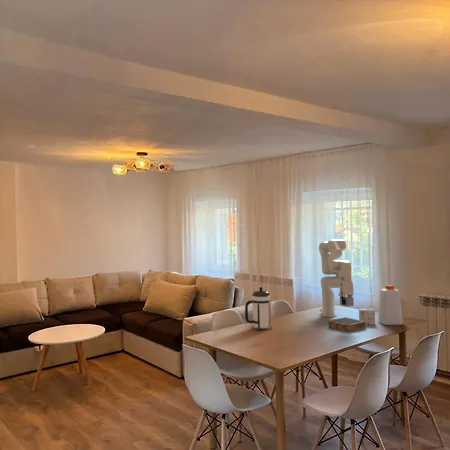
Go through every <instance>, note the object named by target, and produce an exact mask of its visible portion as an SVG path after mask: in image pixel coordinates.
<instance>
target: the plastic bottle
mask: <svg viewBox="0 0 450 450" xmlns="http://www.w3.org/2000/svg"><path fill="white" fill-rule="evenodd" d="M378 306H379V307H378V323H380V324H381V325H384V326H402V325H403V323H404V322H403V321H404V320H403V312H402V311H403V309H402V301H401V291H400V290H399V289H396V288H395V285H394V284H386V285H385V286H384V288H381V289H379V305H378Z"/></svg>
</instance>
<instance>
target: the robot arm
mask: <svg viewBox="0 0 450 450" xmlns="http://www.w3.org/2000/svg"><path fill="white" fill-rule="evenodd" d="M346 249H347V243H346V241H345V240H344V239H329V240H328V241H323V242H320V243H319V245H318V250H319V254H320V258H321V270H322V271H321V272H322V274H323V275H326V276H323V277H322V278H320V285H321V286H320V287H321V304H322V305H321V307H322V308H320V309H319V312H320V316H321V317H324V318H326V317H327V318H333V317H334V318H335V317H337V313H335V293H334V291H333V290H332V289H339V293H338V296H339V298H340V297H341V299H342V305H341V306H343V305H346V299H345V296H348V297H353V296H354V294H355V291H354V284H353V283H354V282H353V279H352V262H351V261H349V260H347V259H346V260H338V259H340V258H341V257H342V255H343V251H345V250H346ZM327 275H328V276H327ZM330 275H331V276H330ZM332 275H334V276H332ZM343 296H344V297H343Z"/></svg>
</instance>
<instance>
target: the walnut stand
mask: <svg viewBox="0 0 450 450" xmlns="http://www.w3.org/2000/svg"><path fill="white" fill-rule="evenodd" d="M328 329H333V330H336V331H337V330H338V331H341V332H346V333H351V332H355V331H360V330H361V331H362V330H365V329H366V323H365V321H361V320H359V319H357V318H356V319H355V318H350V317H347V316H345V317H340V318H334V319H331V320H328Z"/></svg>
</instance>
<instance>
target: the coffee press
mask: <svg viewBox="0 0 450 450" xmlns="http://www.w3.org/2000/svg"><path fill="white" fill-rule="evenodd" d="M251 296H252V300H248V301H247V302H246V303H245V305H244V320H245V321H246V322H247V323H249V324H252V326H251V329H254V328H256V329H257V332H260V331H261V329H269V330H272V329H273V328H272V326H271V306H270V305H271V299H270V298H272V296H271V294H270V292H269V291H268V290H265V289H264V288H263V287H259V289H258V290H254V291H253V292H252V294H251ZM250 304H252V320H249V305H250Z"/></svg>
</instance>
